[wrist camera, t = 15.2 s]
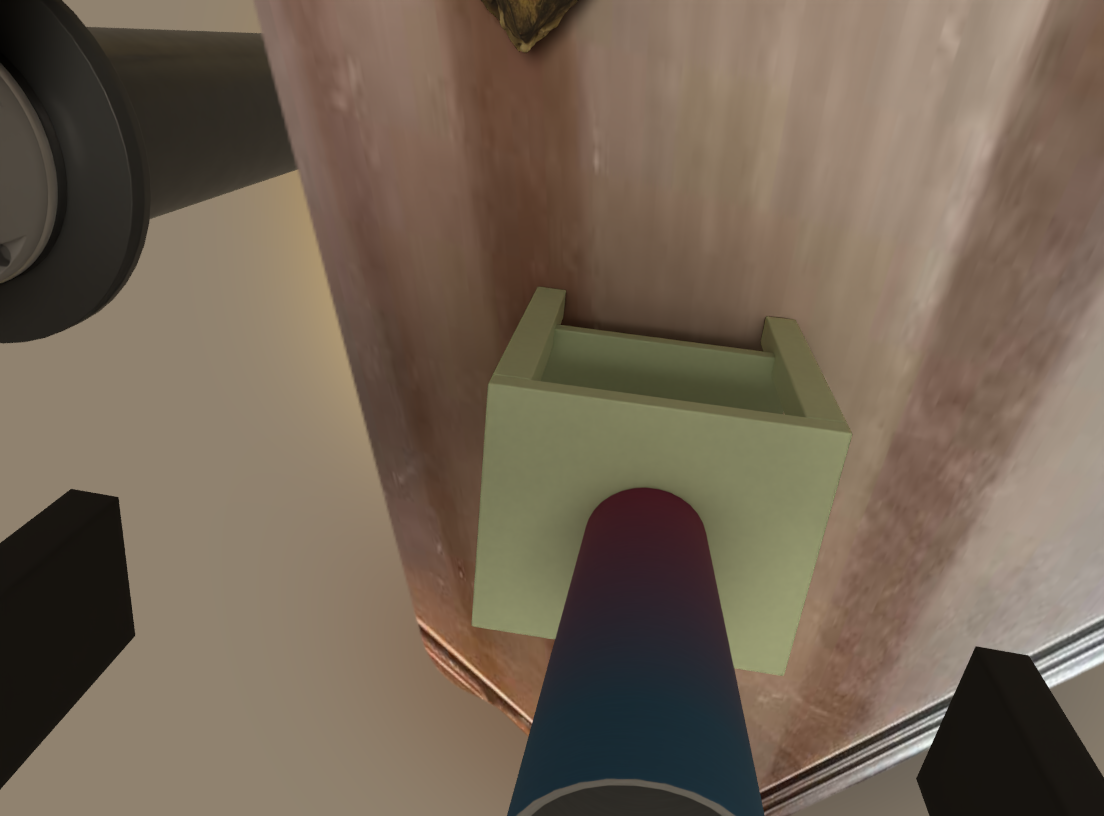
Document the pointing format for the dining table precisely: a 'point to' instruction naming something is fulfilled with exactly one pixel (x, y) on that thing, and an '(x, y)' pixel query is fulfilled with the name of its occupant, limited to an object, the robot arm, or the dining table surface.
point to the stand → (657, 466)
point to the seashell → (528, 18)
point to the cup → (640, 678)
